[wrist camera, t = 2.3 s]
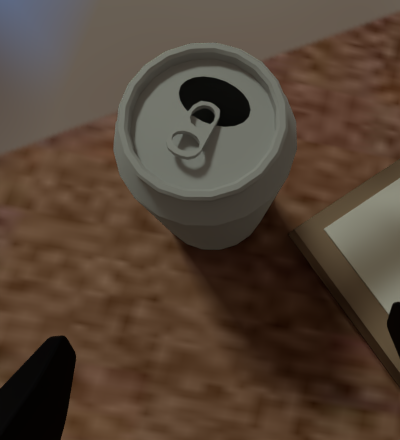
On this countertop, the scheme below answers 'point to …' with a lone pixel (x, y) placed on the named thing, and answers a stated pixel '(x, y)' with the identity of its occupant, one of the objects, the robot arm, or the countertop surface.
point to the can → (205, 142)
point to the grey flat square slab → (361, 257)
